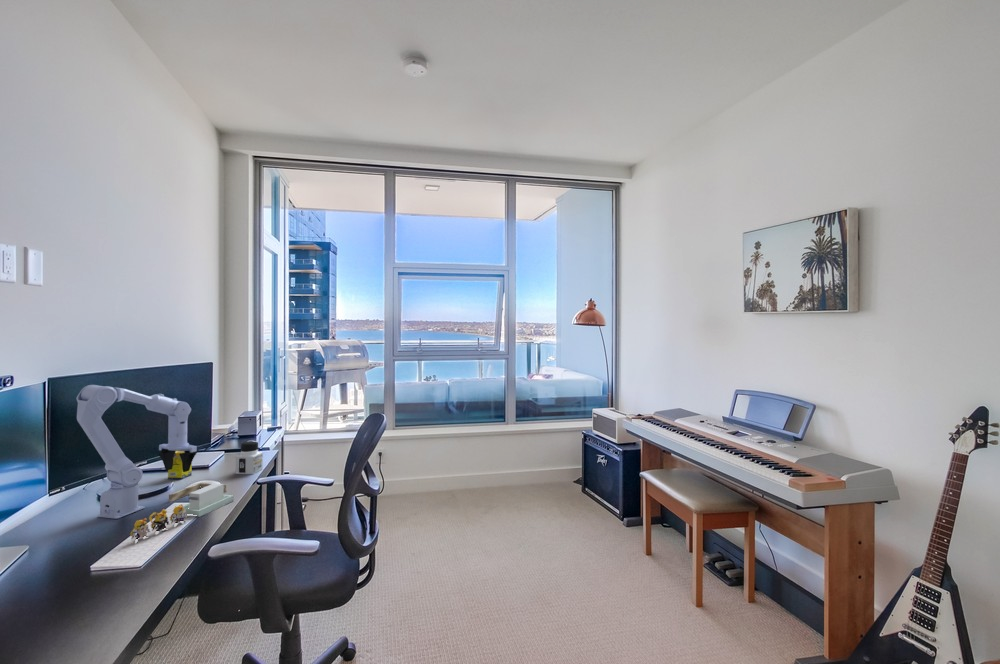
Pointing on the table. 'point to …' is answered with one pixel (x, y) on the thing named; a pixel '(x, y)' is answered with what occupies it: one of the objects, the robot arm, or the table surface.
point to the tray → (210, 506)
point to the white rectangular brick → (206, 496)
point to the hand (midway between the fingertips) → (177, 470)
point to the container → (249, 458)
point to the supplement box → (178, 468)
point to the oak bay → (188, 491)
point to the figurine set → (158, 521)
